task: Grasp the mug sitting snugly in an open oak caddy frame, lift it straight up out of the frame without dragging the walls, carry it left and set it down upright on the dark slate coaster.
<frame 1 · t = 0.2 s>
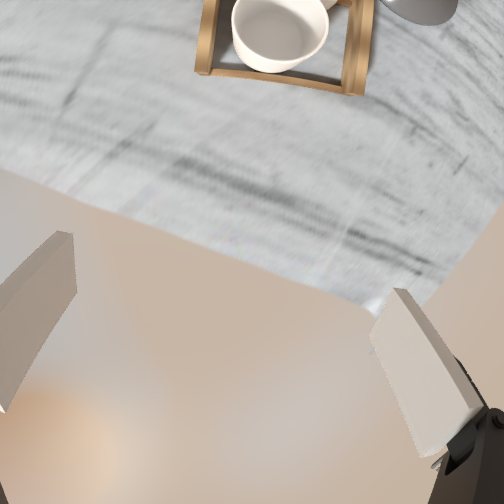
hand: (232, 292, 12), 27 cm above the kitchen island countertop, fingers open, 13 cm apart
caddy: (282, 33, 30), on the kitchen island countertop
mug: (282, 33, 30), resting in caddy
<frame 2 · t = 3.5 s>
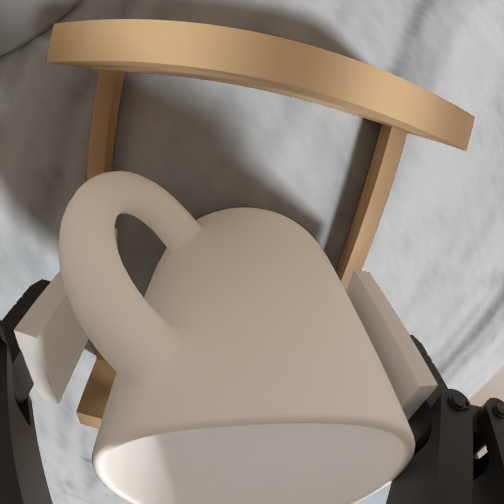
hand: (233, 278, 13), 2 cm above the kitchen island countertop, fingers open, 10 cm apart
caddy: (223, 255, 15), on the kitchen island countertop
mug: (221, 253, 15), resting in caddy, touching gripper
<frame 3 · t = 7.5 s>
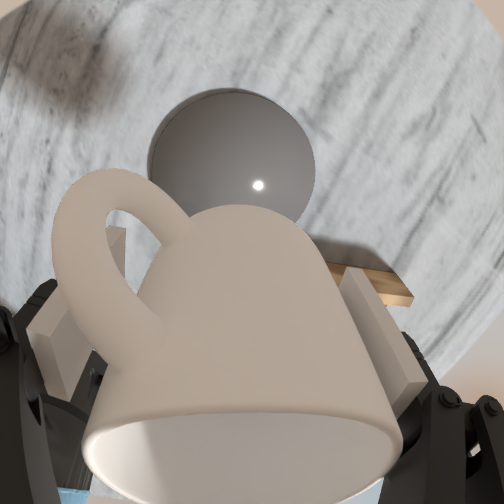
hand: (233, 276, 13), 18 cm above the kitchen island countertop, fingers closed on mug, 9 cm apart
caddy: (324, 327, 37), on the kitchen island countertop
coaster: (232, 173, 29), on the kitchen island countertop
mug: (216, 250, 15), point 15 cm above the kitchen island countertop, touching gripper
when the fingers open (3 cm above the kitchen island countertop, at t = 11.1 s): mug stays where it is, resting on coaster.
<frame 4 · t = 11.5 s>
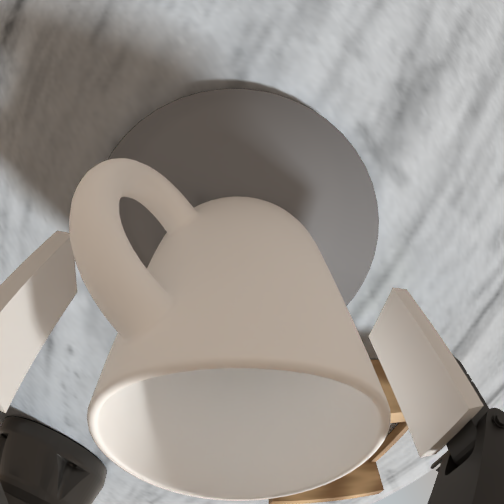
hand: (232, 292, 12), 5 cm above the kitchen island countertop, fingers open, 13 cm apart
caddy: (354, 424, 25), on the kitchen island countertop
coaster: (233, 240, 16), on the kitchen island countertop
mug: (217, 240, 16), resting on coaster
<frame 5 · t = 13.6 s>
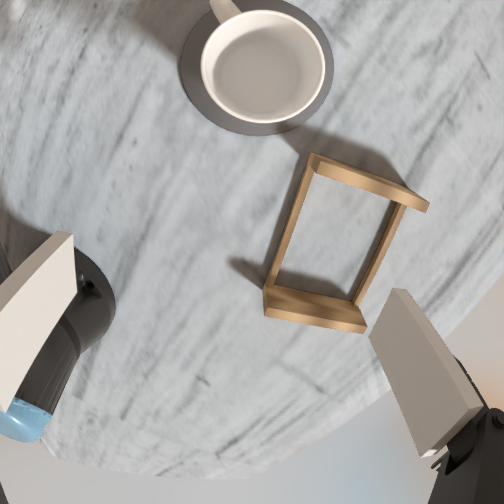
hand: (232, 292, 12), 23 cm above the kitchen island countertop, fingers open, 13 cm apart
caddy: (336, 240, 36), on the kitchen island countertop
coaster: (257, 63, 27), on the kitchen island countertop
mug: (249, 60, 27), resting on coaster
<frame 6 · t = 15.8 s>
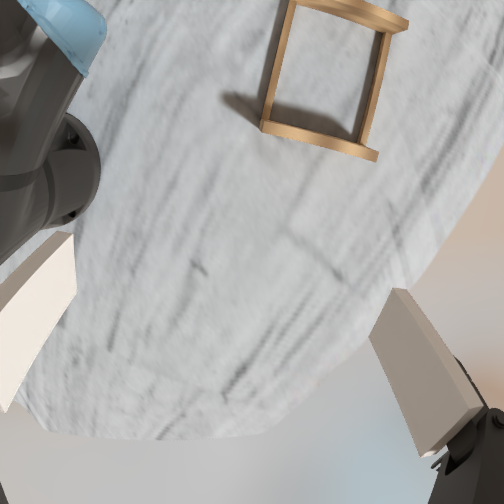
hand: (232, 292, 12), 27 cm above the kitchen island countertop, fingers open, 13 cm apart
caddy: (328, 71, 31), on the kitchen island countertop
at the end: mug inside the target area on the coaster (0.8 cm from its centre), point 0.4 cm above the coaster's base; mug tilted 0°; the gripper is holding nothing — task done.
